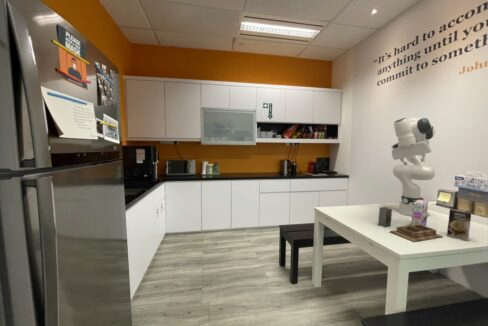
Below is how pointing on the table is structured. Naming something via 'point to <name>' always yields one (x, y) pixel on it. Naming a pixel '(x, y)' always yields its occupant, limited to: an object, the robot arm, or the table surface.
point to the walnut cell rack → (416, 233)
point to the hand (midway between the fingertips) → (414, 163)
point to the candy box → (419, 212)
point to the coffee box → (459, 224)
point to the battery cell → (385, 216)
